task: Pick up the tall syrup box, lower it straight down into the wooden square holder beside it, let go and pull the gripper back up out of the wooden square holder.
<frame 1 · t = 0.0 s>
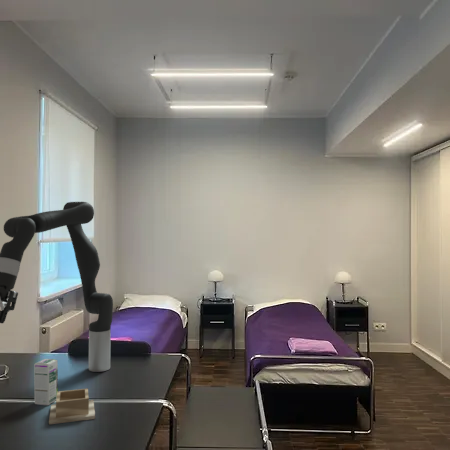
wooden square holder: (72, 413, 149), on the table
syrup box: (45, 402, 158), on the table
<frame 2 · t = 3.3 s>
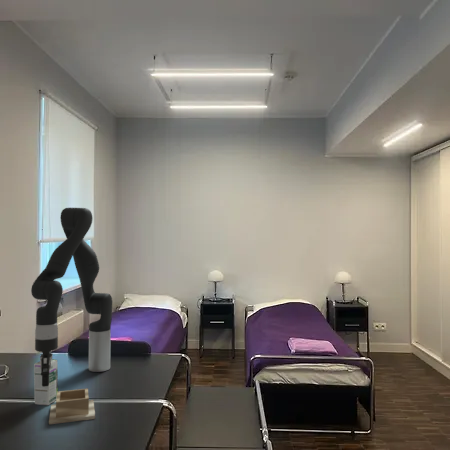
hand: (46, 382, 158), 7 cm above the table, tool pointing down, fingers closed on syrup box, 7 cm apart
syrup box: (45, 402, 158), on the table, touching gripper
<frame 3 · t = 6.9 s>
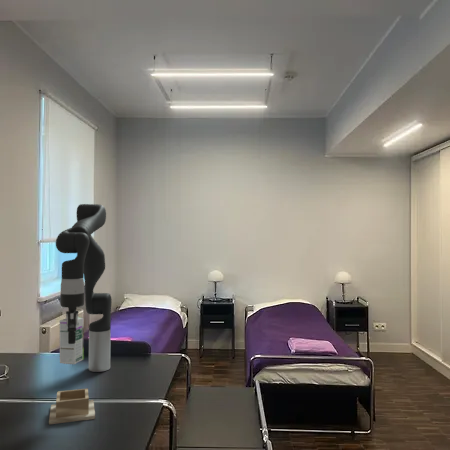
hand: (72, 340, 149), 24 cm above the table, tool pointing down, fingers closed on syrup box, 7 cm apart
syrup box: (71, 362, 149), point 17 cm above the table, touching gripper
when the fingers open (9 cm above the table, at t = 10.4 s): syrup box stays where it is, resting on wooden square holder.
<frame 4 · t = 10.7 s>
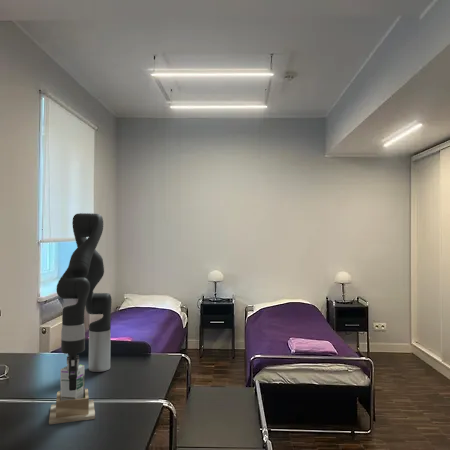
hand: (72, 385, 149), 9 cm above the table, tool pointing down, fingers open, 8 cm apart
syrup box: (72, 410, 149), point 1 cm above the table, touching wooden square holder
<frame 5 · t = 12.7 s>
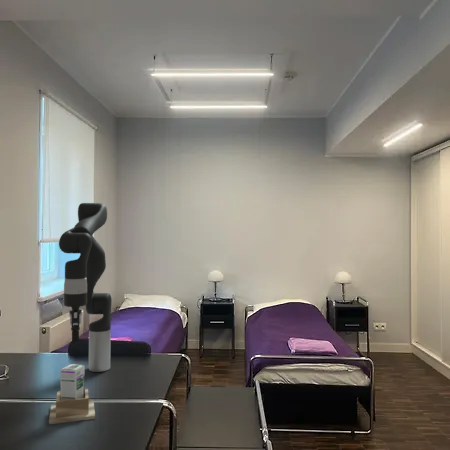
hand: (75, 338, 151), 24 cm above the table, tool pointing down, fingers open, 8 cm apart
nothing on the table moved.
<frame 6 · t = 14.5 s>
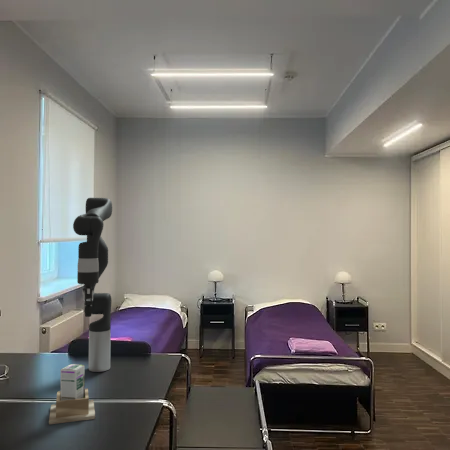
hand: (87, 314, 164), 30 cm above the table, tool pointing down, fingers open, 8 cm apart
nothing on the table moved.
at the end: syrup box 0.0 cm off-centre on the wooden square holder, point 0.8 cm above the wooden square holder's base; syrup box tilted 0°; the gripper is holding nothing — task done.
